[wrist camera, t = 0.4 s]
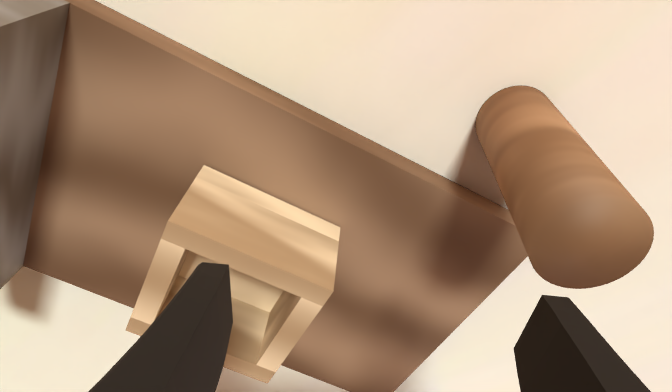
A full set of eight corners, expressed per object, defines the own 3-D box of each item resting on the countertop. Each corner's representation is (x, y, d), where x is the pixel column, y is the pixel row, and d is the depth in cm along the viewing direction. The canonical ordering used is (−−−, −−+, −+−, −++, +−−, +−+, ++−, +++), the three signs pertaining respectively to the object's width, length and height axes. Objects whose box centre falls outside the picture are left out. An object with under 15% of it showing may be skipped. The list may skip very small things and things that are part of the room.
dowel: (519, 166, 20) (593, 303, 13) (460, 134, 19) (505, 261, 13) (569, 107, 18) (681, 228, 12) (507, 71, 18) (586, 177, 11)
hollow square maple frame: (282, 315, 24) (267, 383, 21) (162, 265, 23) (125, 330, 19) (340, 227, 21) (333, 291, 17) (204, 164, 19) (168, 220, 16)
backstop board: (381, 385, 28) (382, 474, 24) (-28, 224, 24) (-119, 298, 20) (535, 223, 21) (576, 307, 17) (-4, -50, 17) (-138, -31, 12)
